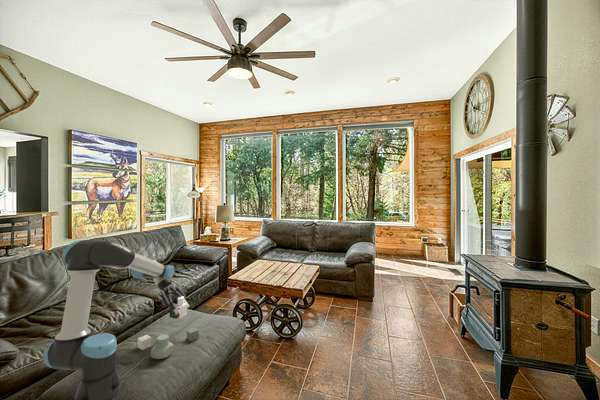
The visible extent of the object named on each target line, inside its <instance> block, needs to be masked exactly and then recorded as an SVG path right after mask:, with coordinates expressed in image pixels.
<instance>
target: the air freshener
mask: <svg viewBox="0 0 600 400" xmlns="http://www.w3.org/2000/svg"><path fill="white" fill-rule="evenodd" d="M169 338H170V336H169V334H167V333H166V334H165V333H164V334H160V335H158V336H157V337H156V338H155V339H156V340H155V345H154V346H153V347H152V348H151V350H150V357H151V358H152V359H153V360H154V359H155V360H162V359H165V358H167V357H169V356H170V355H171V354H172V353H173V351H174V349H175V346H174V344H173V343H172V342H171V341H170V339H169Z"/></svg>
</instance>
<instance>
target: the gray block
mask: <svg viewBox="0 0 600 400" xmlns="http://www.w3.org/2000/svg"><path fill="white" fill-rule="evenodd" d="M199 335H200V334H199V329H198V328H197V327H192V328H191V327H190V328H189V329H186V339H187V338H188V339H189V340H188V339H187V340H188V341H189V342H193V341H195V340H198V339H199Z"/></svg>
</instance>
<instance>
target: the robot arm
mask: <svg viewBox="0 0 600 400" xmlns="http://www.w3.org/2000/svg"><path fill="white" fill-rule="evenodd" d="M61 255H62V256H61V260H62V262H63V263H64V264H65V265H66V266H67V269H66V272H68V273H69V274H70V277H69V282H68V283H69V284H68V288H67V294H66V299H65V300H66V301H65V306H64V311H63V317H62V322H61V328H60V332H59V333H57V335H55V336H54V340H52V341H51V342H50V343H49V344H48V345H49V346H47V347H46V348H45V350H44V353H43V363H44V364H45V366H47V367H48V368H50V369H55V370H60V371H61V370H68V371H76V372H77V371H79V372H80V382H79V385H78V387H77V389H76V392H75V395H74V399H73V400H110V399H112V398H113V397H114V396H115V395H116V394H117V393H119V391H120V389H121V381H122V379H121V378H120V376H119V374H118V371H117V354H118V353H117V352H118V350H117V349H118V344H117V337H116V336H115V335H114V334H112V333H109V332H108V333H105V332H104V333H103V332H102V333H100V334H99V333H97V334H92V333H91V332H92V331H91V329H90V328H88V324H89V317H90V312H91V306H92V305H91V304H92V298H93V295H94V294H93V292H94V287H95V279H96V275H97V272H99V271H100V270H101V268H102V267H112V268H115V267H116V268H119V269H125V268H127V269H129V270H130V269H131V276H132V277H133V278H134V279H143V278H144V279H152V280H153V282H154V284H155V285H156V286H157V288H158V290H160V291H159V292H158V293H157V295H158V296H159V297H160V299H161V301H162V302H163V304H164V306H165V307H166V308H167V307H168V308H170V307H171V309H172V310H174V312H175V313H176V315H177V314H178V313H179V312H180V310H179V309H178V308H177V306H176V305H175V303H173V299H172V296H171V294H172V295H174V296H175V297H176V296H184V303H187V309H188V308H190V305H189V303H188V301H187V300H186V297H187V295H186V293H185V292H184V291H183V290H182V289H181V288H180V287H179V285H178V283H177V284H175V285H173V283H172V280H171V278H173V276H174V275H175V266H173V265H167V264H166V265H165V264H162V263H160V262H158V261H157V260H156V259H151V258H148V257H147V256H146V257H145V256H144V255H141V254H139V253H137V252H135V250H134V249H133V248H130V247H128V246H125V245H123V244H121V243H118V242H115V241H112V240H104V239H103V240H99V239H98V240H97V239H78V240H74V241H73V242H71V243H70V244H68V245H67V246H66V247H65V248H64V250H63V252H62V254H61ZM91 334H92V335H91Z"/></svg>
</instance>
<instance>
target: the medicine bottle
mask: <svg viewBox="0 0 600 400" xmlns="http://www.w3.org/2000/svg"><path fill="white" fill-rule="evenodd" d="M172 302H173V303H175V305H176V306H177V308H178V309H179V310H180V312H179V313H178V314H177V315H176V313H175V312H174V310H172V309H171V307H169V319H174V320H180V319H181V320H182V319H183V318H184V317H186V316H187V314H188V308H187V303H188V302H187V303H184V296H175V297H174V298H173V299H172Z"/></svg>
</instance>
